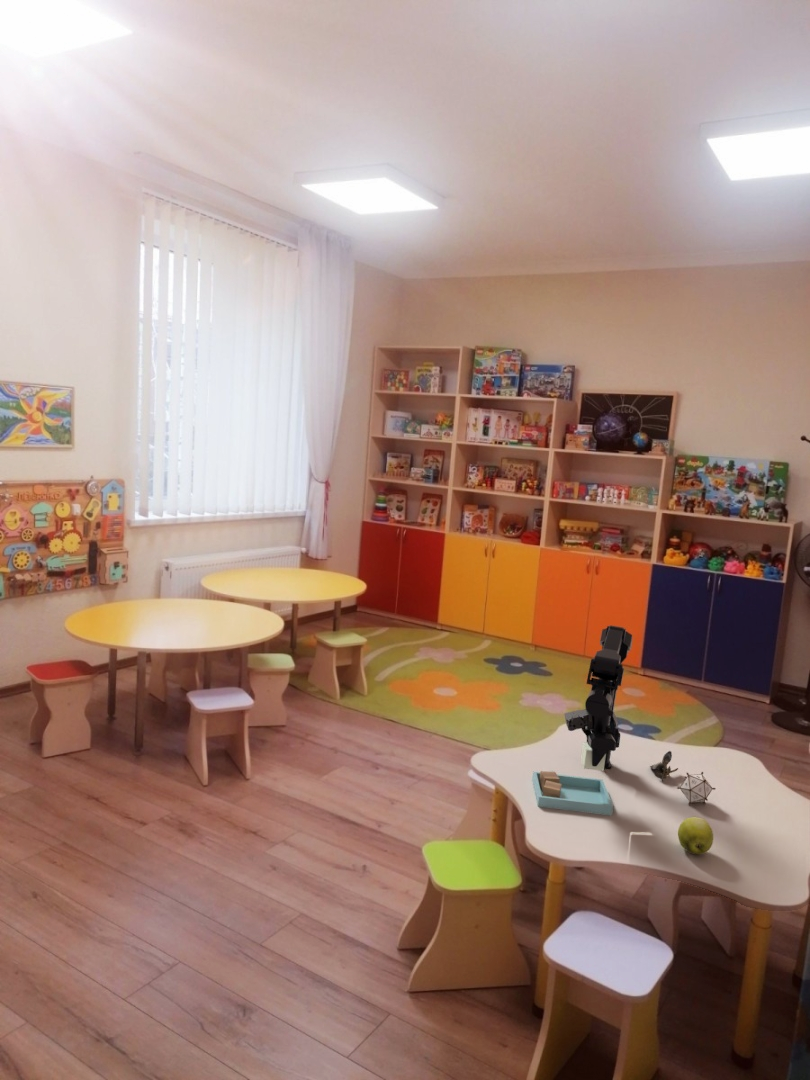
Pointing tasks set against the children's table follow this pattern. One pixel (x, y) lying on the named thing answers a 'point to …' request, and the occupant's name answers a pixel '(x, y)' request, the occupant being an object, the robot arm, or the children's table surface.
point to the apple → (695, 835)
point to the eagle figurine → (664, 765)
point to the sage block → (590, 758)
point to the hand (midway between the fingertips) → (592, 761)
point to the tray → (576, 795)
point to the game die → (696, 788)
